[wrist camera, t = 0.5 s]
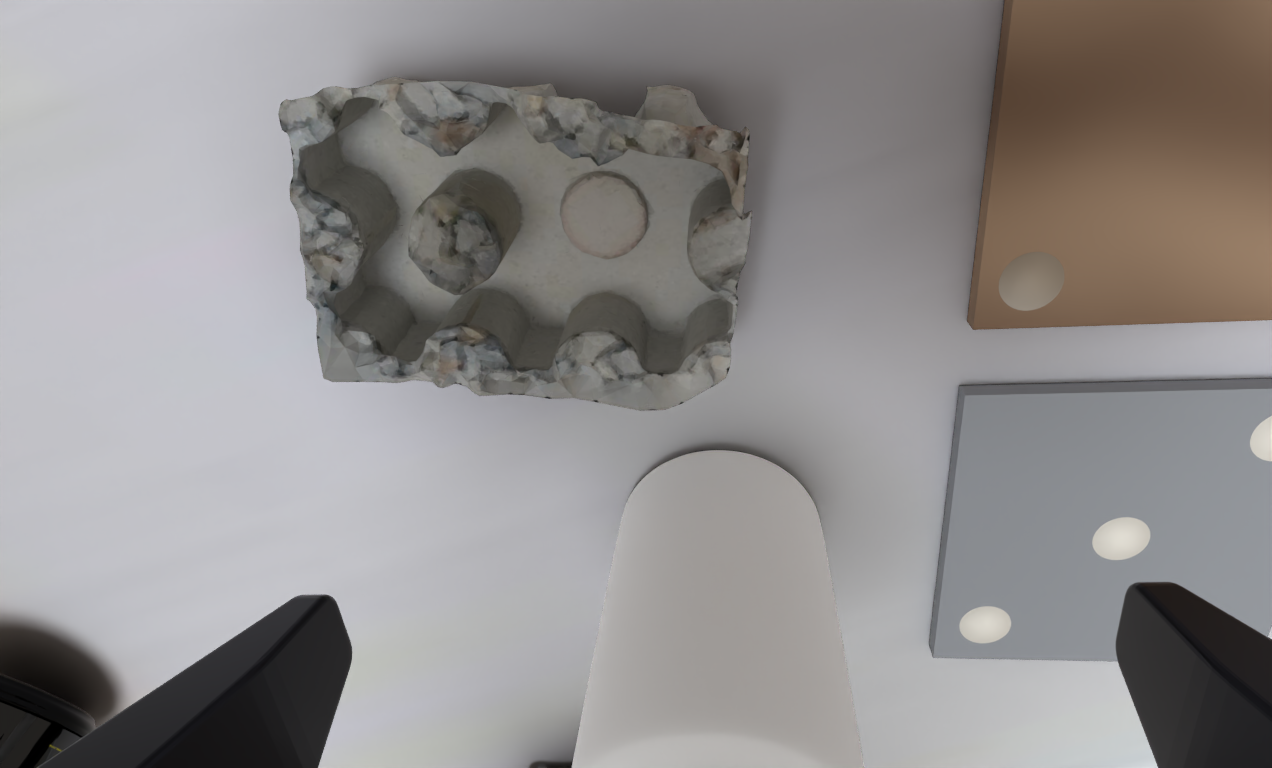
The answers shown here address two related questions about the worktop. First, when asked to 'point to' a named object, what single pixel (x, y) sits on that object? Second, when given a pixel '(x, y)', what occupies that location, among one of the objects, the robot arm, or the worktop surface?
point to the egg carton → (520, 239)
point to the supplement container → (36, 724)
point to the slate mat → (1100, 511)
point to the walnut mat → (1127, 166)
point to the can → (719, 628)
